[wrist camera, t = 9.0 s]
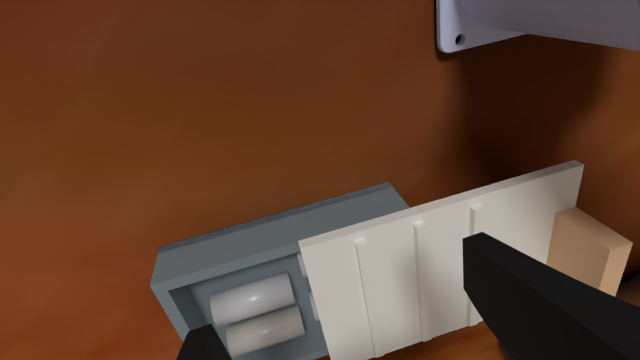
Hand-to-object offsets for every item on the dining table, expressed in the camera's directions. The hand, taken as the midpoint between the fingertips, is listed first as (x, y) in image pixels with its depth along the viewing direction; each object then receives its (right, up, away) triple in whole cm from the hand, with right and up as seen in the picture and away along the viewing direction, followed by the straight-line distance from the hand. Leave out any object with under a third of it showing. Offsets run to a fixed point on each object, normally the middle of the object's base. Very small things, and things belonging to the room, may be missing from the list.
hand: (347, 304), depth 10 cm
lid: (+6, -1, +11) cm, 13 cm away
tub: (-2, -2, +12) cm, 12 cm away
